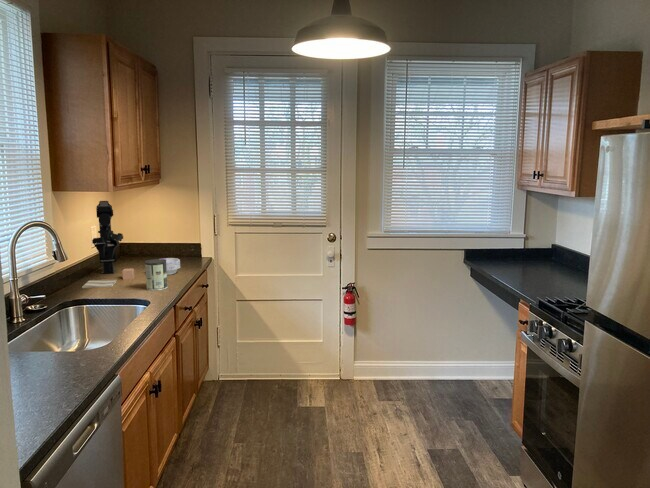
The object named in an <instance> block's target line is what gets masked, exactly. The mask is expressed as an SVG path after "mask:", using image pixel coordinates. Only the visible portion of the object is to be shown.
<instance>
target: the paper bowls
mask: <svg viewBox="0 0 650 488" xmlns="http://www.w3.org/2000/svg"><path fill="white" fill-rule="evenodd" d="M162 259H164V260H166V269H167V276H170V275H174V274H176V273H177V272H178V269H181V259H179V258H175V257H165V258H162Z"/></svg>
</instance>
